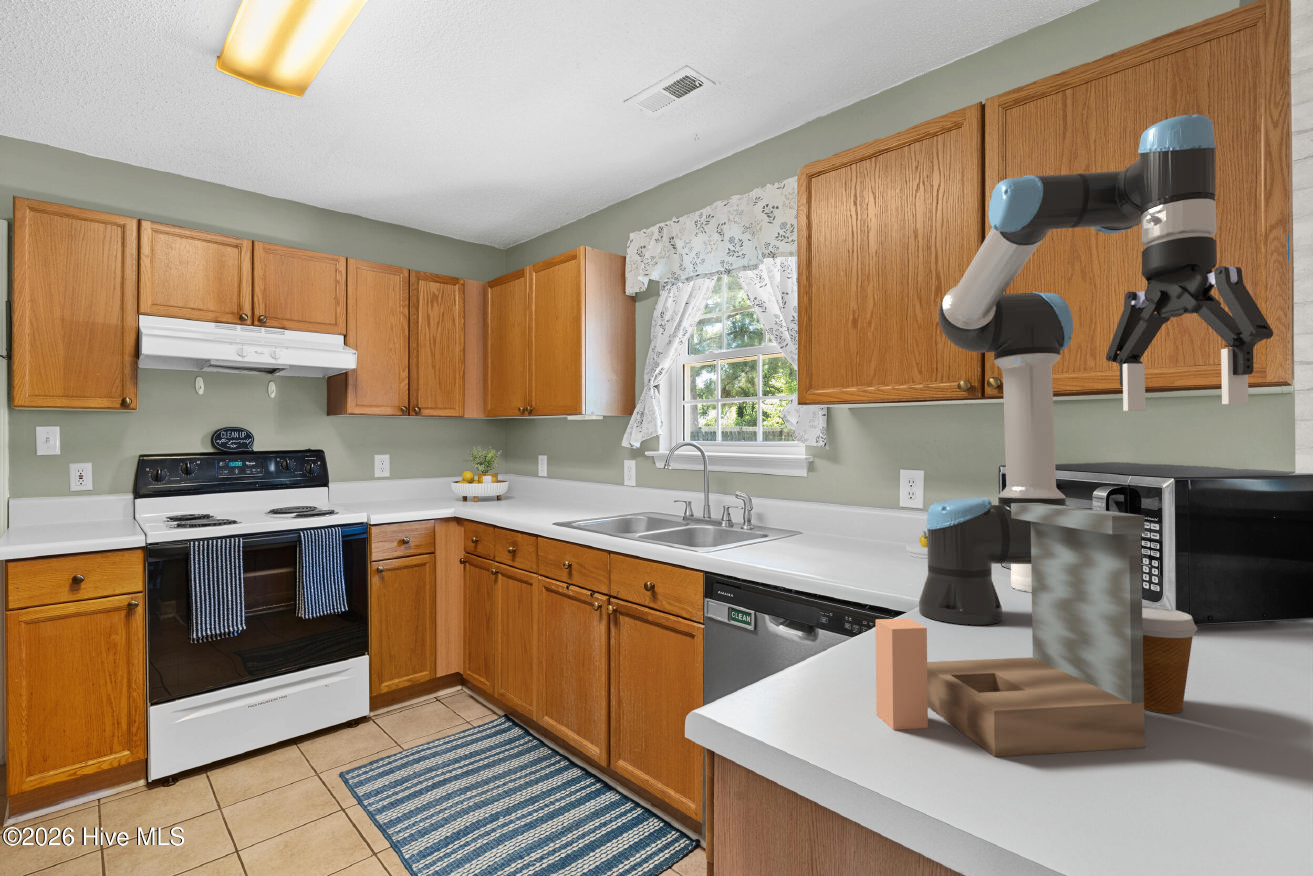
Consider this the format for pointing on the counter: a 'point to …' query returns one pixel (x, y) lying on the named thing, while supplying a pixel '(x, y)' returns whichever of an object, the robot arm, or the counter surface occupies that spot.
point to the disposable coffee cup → (1165, 657)
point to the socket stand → (1062, 645)
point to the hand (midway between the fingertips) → (1180, 408)
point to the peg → (901, 673)
